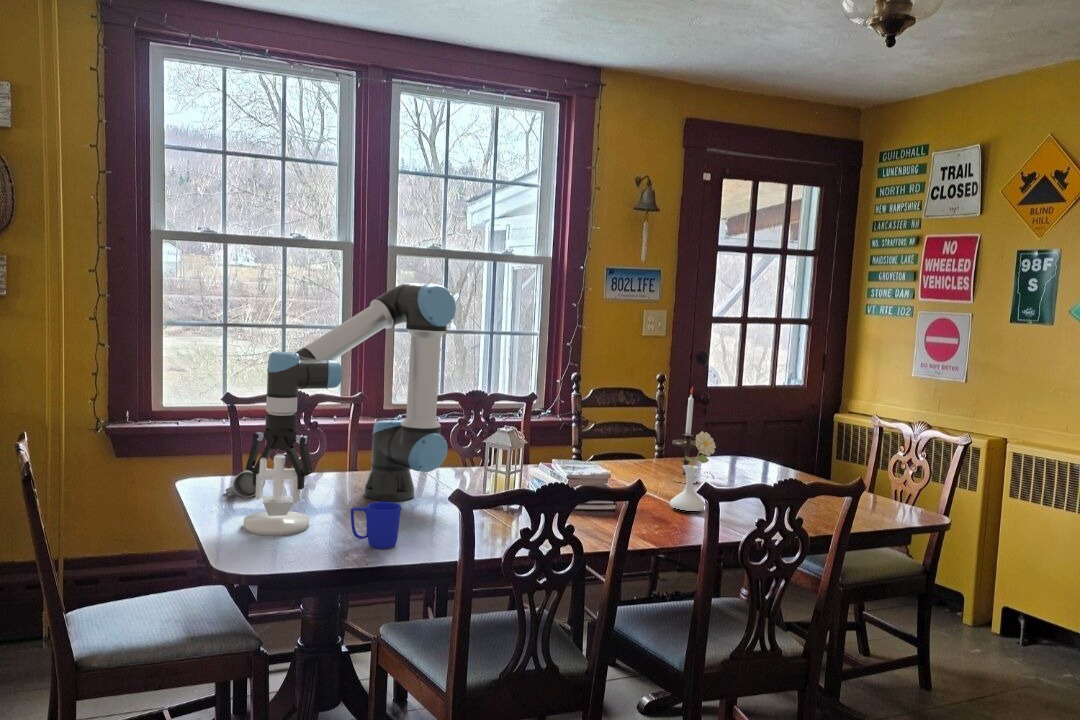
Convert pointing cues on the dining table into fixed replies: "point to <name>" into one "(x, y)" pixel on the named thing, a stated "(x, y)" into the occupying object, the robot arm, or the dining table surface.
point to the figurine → (277, 486)
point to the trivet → (276, 524)
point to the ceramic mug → (243, 485)
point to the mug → (380, 523)
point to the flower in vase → (688, 496)
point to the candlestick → (687, 433)
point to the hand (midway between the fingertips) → (277, 499)
